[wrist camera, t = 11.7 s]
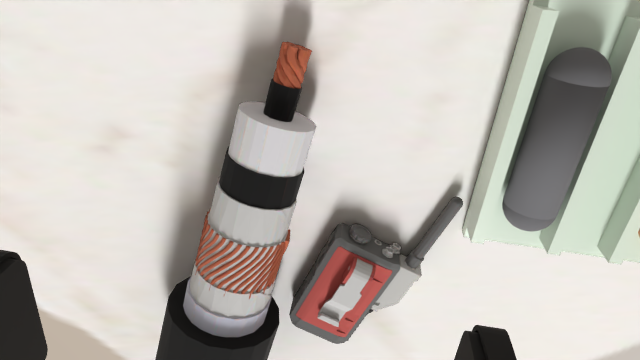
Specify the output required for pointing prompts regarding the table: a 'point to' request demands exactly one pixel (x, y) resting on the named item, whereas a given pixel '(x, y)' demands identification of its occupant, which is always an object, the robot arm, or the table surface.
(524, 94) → the rack
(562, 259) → the table surface
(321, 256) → the walkie-talkie
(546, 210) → the gray pill-shaped rod
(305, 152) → the cable
